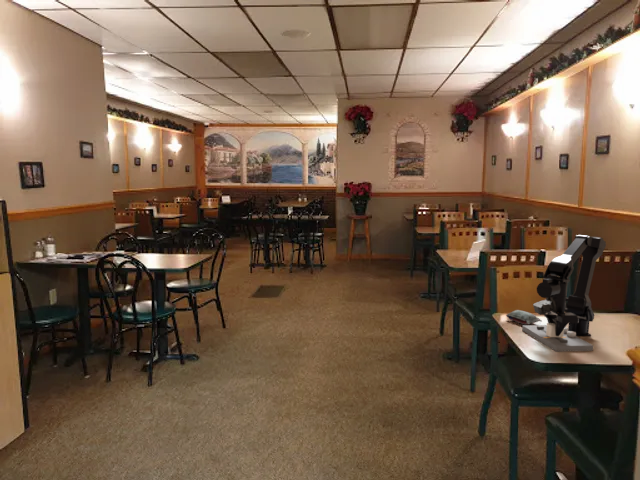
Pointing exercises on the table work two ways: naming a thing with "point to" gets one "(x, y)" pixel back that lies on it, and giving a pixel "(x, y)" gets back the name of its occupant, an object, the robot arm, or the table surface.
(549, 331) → the block
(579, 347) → the console
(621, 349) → the table surface
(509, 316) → the packaged food
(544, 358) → the table surface
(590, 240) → the robot arm
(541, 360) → the table surface
